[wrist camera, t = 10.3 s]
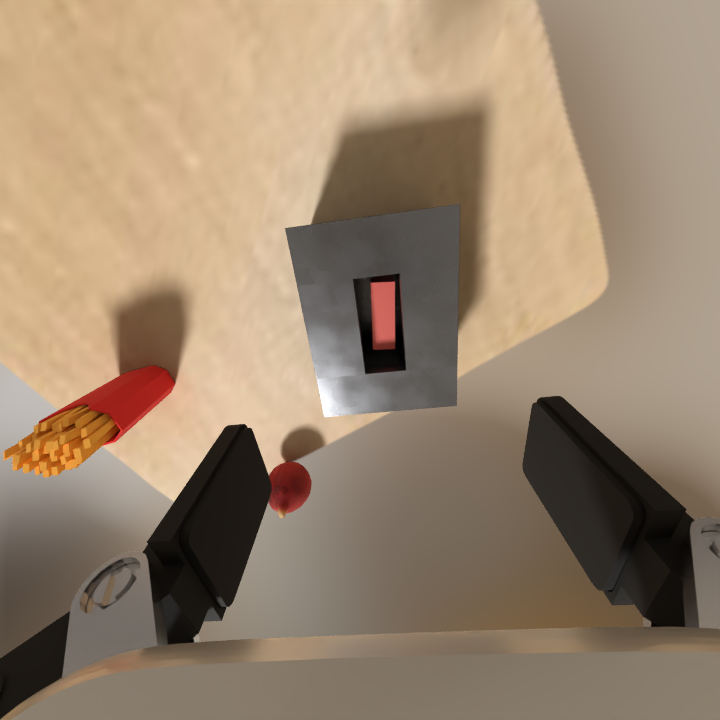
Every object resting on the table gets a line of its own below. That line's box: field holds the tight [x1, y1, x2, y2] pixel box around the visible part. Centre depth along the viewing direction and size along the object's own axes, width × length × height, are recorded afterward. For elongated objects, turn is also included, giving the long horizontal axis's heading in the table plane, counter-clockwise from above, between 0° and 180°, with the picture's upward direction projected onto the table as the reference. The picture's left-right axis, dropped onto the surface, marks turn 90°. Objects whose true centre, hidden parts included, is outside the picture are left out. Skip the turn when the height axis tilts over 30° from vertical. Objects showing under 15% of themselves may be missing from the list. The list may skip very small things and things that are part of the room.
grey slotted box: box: [285, 204, 460, 417], centre depth 27 cm, size 16×12×9 cm
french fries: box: [4, 365, 175, 477], centre depth 31 cm, size 9×4×13 cm, turn 106°
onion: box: [268, 462, 311, 518], centre depth 38 cm, size 6×6×8 cm
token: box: [371, 275, 395, 350], centre depth 28 cm, size 6×2×6 cm
